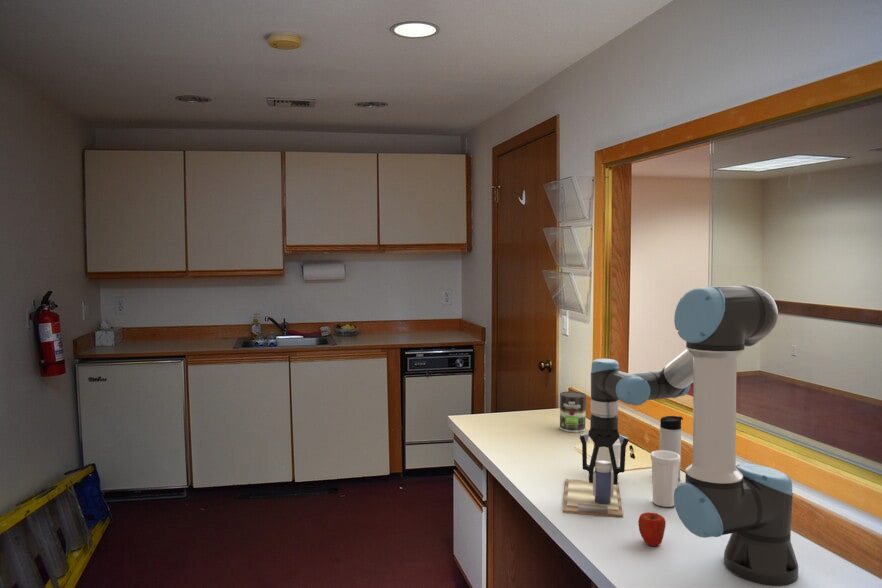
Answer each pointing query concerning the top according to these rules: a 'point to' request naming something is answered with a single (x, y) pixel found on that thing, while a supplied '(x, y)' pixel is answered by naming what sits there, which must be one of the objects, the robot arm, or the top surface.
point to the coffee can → (572, 411)
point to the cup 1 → (605, 455)
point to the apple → (652, 528)
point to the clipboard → (589, 500)
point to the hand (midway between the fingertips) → (602, 494)
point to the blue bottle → (603, 482)
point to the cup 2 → (664, 476)
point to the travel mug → (671, 435)
